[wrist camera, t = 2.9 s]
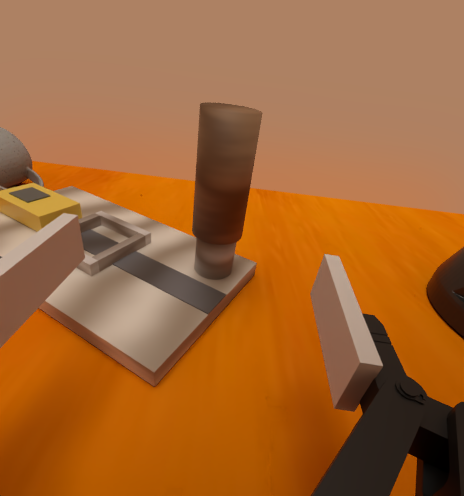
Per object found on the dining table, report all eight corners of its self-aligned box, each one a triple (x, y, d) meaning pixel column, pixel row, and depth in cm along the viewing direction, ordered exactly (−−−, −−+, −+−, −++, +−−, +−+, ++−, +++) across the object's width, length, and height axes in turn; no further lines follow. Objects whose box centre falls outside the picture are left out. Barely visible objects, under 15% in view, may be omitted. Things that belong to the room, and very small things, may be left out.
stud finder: (82, 219, 32) (79, 201, 31) (43, 234, 29) (38, 215, 28) (37, 198, 35) (33, 181, 34) (-4, 209, 32) (-10, 191, 31)
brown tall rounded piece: (243, 265, 29) (271, 112, 22) (220, 289, 26) (244, 116, 18) (206, 250, 30) (220, 101, 23) (180, 269, 27) (187, 103, 20)
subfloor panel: (254, 274, 30) (258, 253, 29) (154, 386, 19) (153, 360, 17) (73, 196, 40) (70, 177, 39) (-64, 238, 29) (-76, 213, 27)
